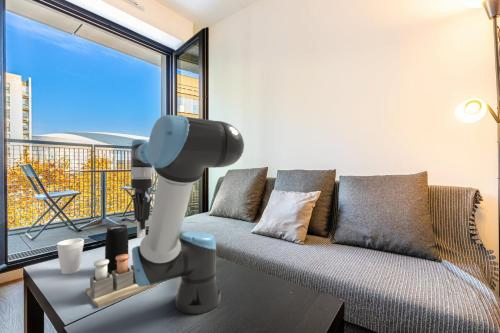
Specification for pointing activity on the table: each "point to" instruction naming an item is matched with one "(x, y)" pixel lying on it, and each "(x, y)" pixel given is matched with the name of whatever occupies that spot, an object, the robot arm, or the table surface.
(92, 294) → the board
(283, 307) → the table surface
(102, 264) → the plunger cream
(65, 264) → the foam cup
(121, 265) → the plunger terracotta
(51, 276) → the table surface
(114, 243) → the portable speaker
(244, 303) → the table surface
